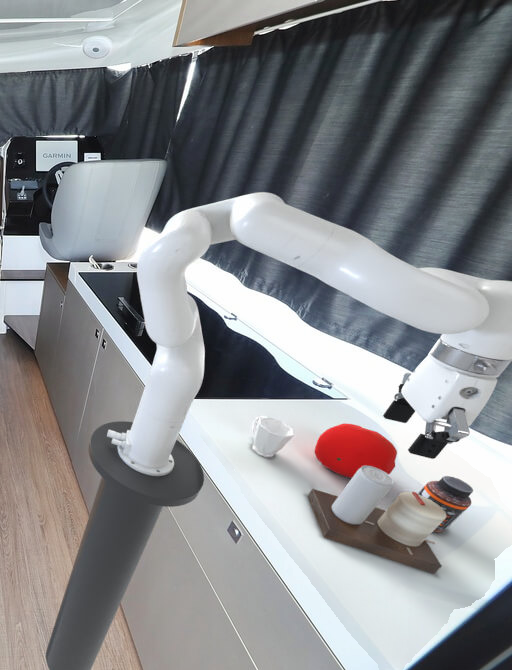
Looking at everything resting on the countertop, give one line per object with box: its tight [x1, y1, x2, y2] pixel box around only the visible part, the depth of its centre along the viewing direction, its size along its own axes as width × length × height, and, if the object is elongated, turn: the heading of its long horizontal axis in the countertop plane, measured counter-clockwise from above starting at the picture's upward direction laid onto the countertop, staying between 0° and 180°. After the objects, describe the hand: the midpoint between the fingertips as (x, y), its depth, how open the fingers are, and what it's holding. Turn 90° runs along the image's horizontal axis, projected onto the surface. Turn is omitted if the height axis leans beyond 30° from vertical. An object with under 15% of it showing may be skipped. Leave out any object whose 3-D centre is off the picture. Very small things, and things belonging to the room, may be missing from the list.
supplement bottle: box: [417, 475, 474, 533], centre depth 84 cm, size 6×6×11 cm
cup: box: [251, 415, 295, 458], centre depth 103 cm, size 7×10×8 cm
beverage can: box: [332, 466, 395, 525], centre depth 82 cm, size 5×5×12 cm
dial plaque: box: [307, 488, 443, 575], centre depth 84 cm, size 17×11×3 cm, turn 63°
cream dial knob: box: [378, 491, 446, 547], centre depth 80 cm, size 6×6×8 cm
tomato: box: [314, 423, 398, 479], centre depth 96 cm, size 13×13×13 cm
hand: (406, 436), depth 75 cm, fingers open, 9 cm apart
